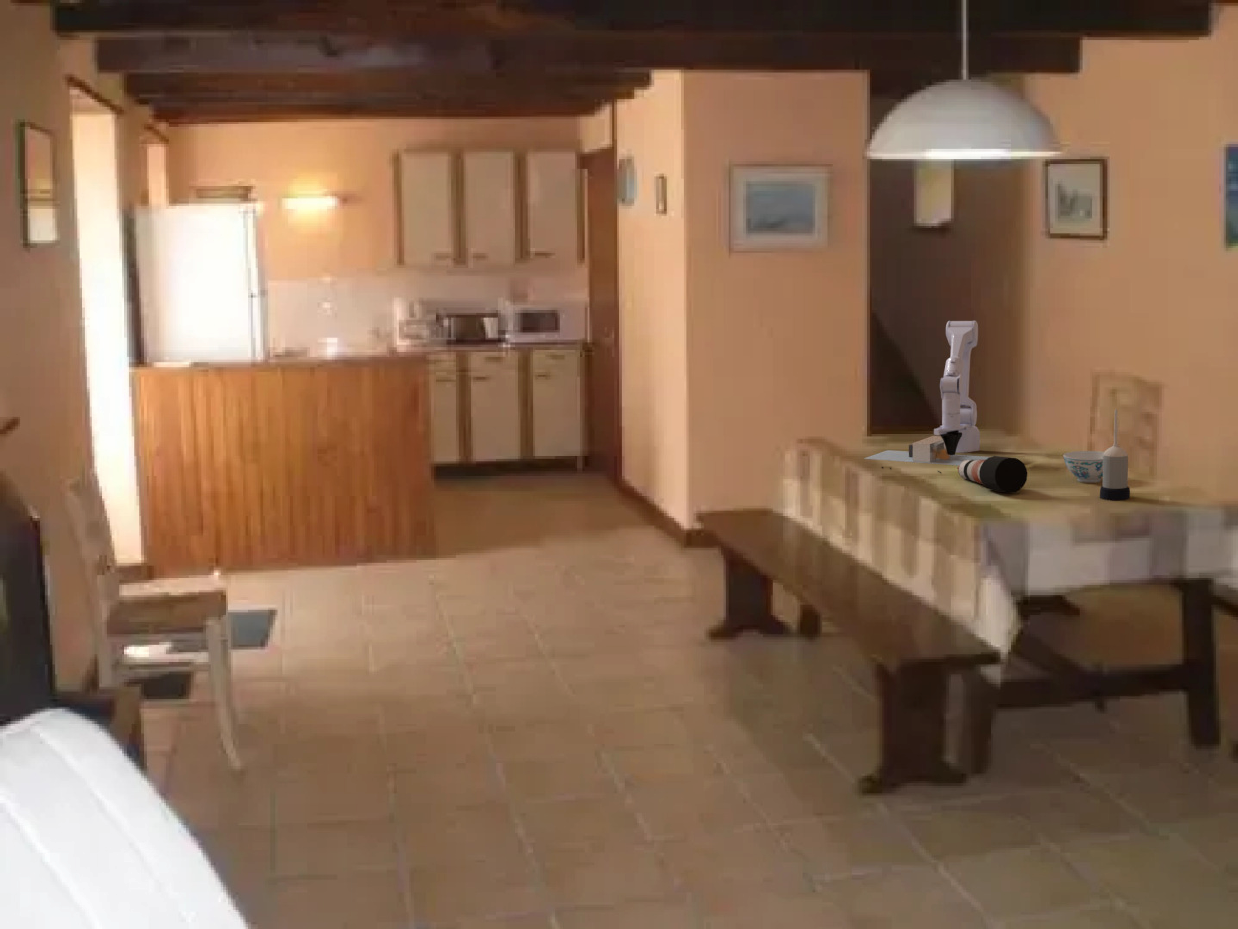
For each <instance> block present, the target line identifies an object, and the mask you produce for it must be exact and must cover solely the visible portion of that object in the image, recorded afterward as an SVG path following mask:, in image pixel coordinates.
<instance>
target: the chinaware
mask: <svg viewBox="0 0 1238 929" xmlns="http://www.w3.org/2000/svg"><path fill="white" fill-rule="evenodd" d="M1104 452H1105V451H1100V450H1097V451H1096V450H1083V451H1082V450H1080V451H1078V450H1076V451H1070V452H1065V453H1064V454H1063V460H1064V463H1065V467H1066V468H1067V470H1068V471H1069V472H1070V473H1071V474H1072V475H1073V476H1075V477H1076V478H1077V482H1080V483H1081V482H1082V483H1100V482H1101V481H1102V479H1103V456H1104V455H1103V454H1104Z"/></svg>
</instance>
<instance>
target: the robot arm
mask: <svg viewBox="0 0 1238 929" xmlns="http://www.w3.org/2000/svg"><path fill="white" fill-rule="evenodd" d="M978 325H979V324H978V322H977V320H948V321H947V322H946V326H945V336H946V339H947V341H948V344H949V346H950V357H949V358H947V359H946V361H945V367H944V371H943V377H941V378H940V382H939V389H940V398H941V411H942V412H941V416H942V417H941V420H942V421H941V422H942V423H941V424H942V425H939V427H937V428H934V429H933V436H941V437H942V439H943V441H944V443H945V446H946V450H947V454H948V455H956V453H957V454H959V453H961V454H962V453H964V454H965V453H971V452H977V451H980V450H981V447H980V446H981V445H980V444H981V442H980V440H981V439H980V437H981V435H980V430H979V428H978V427H977V426H976V424H977V420H978V411H977V404H976V402H975V401H974V400H973V399H971V398H970V397H969V391H970V370H971V368H970V367H971V353H972V349H973V348H975V347H977V346H978V341H979V340H978V339H979V326H978Z"/></svg>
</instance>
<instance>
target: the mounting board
mask: <svg viewBox="0 0 1238 929" xmlns="http://www.w3.org/2000/svg"><path fill="white" fill-rule="evenodd" d="M989 457H990V456H981V455H980V456H979V455H967V454H965V455H964V454H955V455H950V458H949V459H938V458H936V461H933V462H930V463H928V462H916V463H919V464H920V463H921V464H932V465H934V464H935V465H949V466H959V465H960V464H961V463H962V462H963V461H965V460H986V459H988V458H989ZM863 459H865V460H877V461H878V460H879V461H892V462H893V461H894V462H902V463H904V462H906V463H915V462H914V461H913V457H909V450H908V451H907V450H906V451H905V450H904V451H903V450H892V449H891V450H890V449H887V450H884V451H881V452H879V453H875V454H873V455H870V456H867V457H864V458H863Z"/></svg>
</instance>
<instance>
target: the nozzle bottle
mask: <svg viewBox="0 0 1238 929" xmlns="http://www.w3.org/2000/svg"><path fill="white" fill-rule="evenodd" d="M1113 424H1114V429H1113V430H1114V431H1113V445H1112V446H1110V447H1109V448H1107V449H1106V450H1105V451H1103V452H1104V454H1103V455H1104V456H1103V477H1102V485H1101V487H1100V488H1099V498H1100V499H1101V500H1104V501H1115V502H1116V501H1127V500H1130V498H1131V488H1130V487H1129V486H1128V482H1129V480H1128V479H1129V478H1128V476H1129V471H1128V470H1129V456H1128V455H1129V454H1128V453H1127V451H1126V450H1125V449H1124V447H1121V446H1119V445H1120V444H1119V442H1120V434H1118V432H1119V429H1120V422H1118V409H1114V421H1113Z"/></svg>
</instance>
